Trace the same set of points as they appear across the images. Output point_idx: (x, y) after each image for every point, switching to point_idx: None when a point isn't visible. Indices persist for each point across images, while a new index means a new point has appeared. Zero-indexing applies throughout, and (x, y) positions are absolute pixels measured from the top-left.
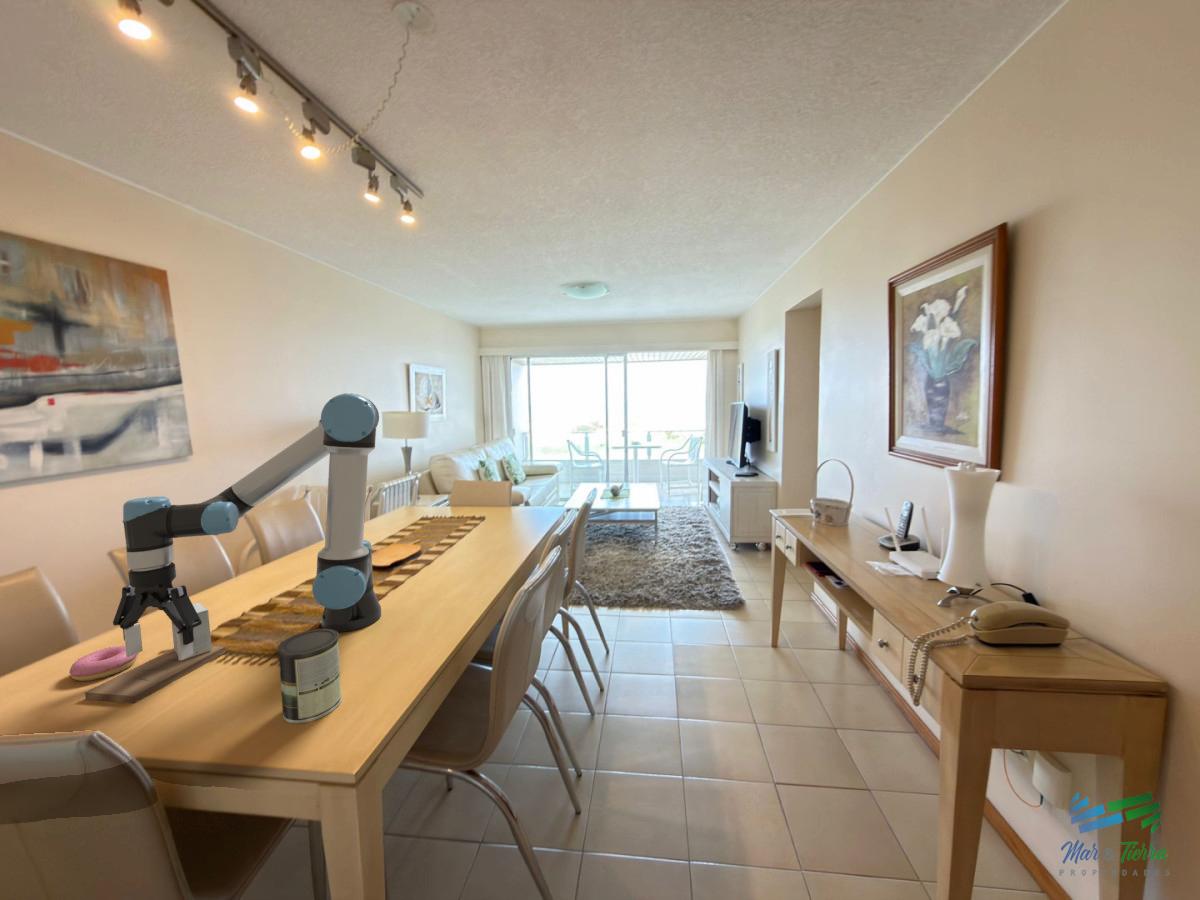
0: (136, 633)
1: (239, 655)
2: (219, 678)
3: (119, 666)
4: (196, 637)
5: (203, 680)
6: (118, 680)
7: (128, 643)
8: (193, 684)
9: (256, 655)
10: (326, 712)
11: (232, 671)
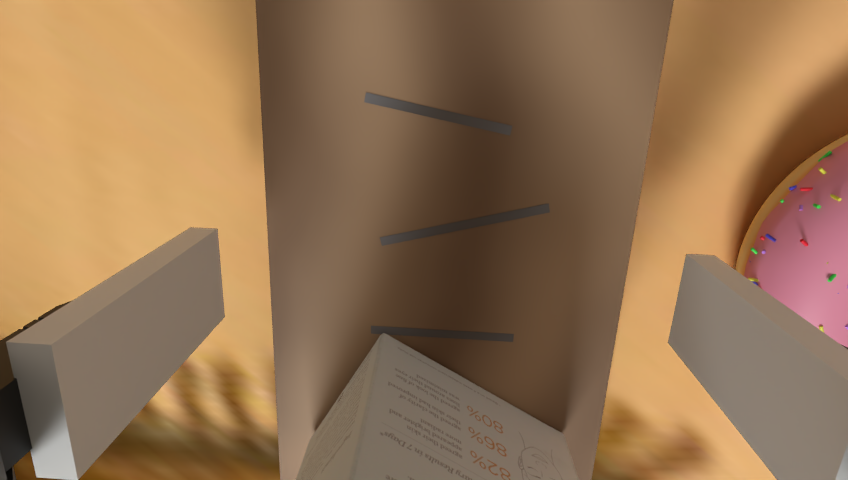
0: (768, 418)
1: (178, 431)
2: (34, 211)
3: (758, 243)
4: (312, 478)
5: (107, 186)
6: (586, 84)
7: (750, 308)
8: (121, 143)
9: None
10: None
11: (39, 282)
